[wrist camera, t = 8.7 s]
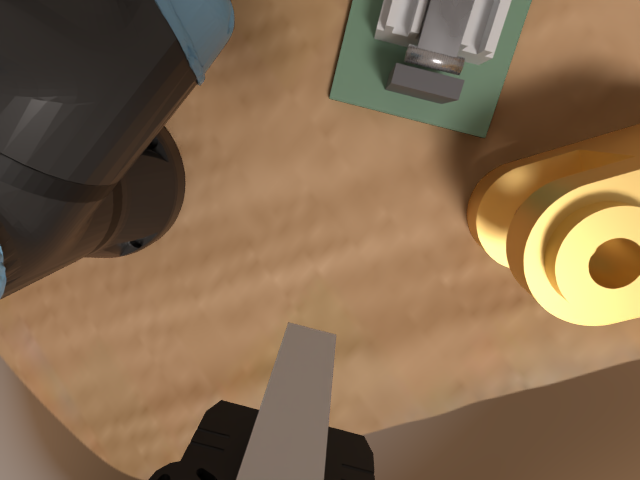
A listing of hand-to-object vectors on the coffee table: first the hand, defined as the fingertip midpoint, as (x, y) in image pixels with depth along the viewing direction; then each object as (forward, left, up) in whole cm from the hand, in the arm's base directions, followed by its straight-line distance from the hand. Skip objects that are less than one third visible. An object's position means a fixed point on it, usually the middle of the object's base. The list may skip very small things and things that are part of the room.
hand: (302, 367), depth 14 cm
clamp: (+21, +6, -30) cm, 37 cm away
